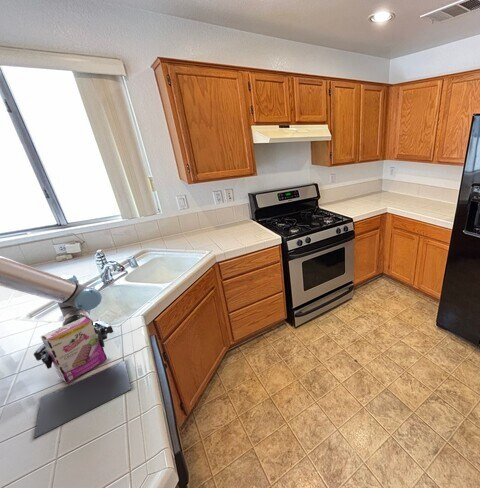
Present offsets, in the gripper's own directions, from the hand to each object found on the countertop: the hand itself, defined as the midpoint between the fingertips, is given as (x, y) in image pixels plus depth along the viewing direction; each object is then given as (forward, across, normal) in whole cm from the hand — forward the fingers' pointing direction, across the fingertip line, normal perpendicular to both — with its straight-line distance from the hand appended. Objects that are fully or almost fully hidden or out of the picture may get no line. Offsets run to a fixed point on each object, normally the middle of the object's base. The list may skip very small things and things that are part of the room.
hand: (75, 353), depth 81 cm
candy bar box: (-4, 0, -9) cm, 9 cm away
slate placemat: (+9, 0, -9) cm, 13 cm away
